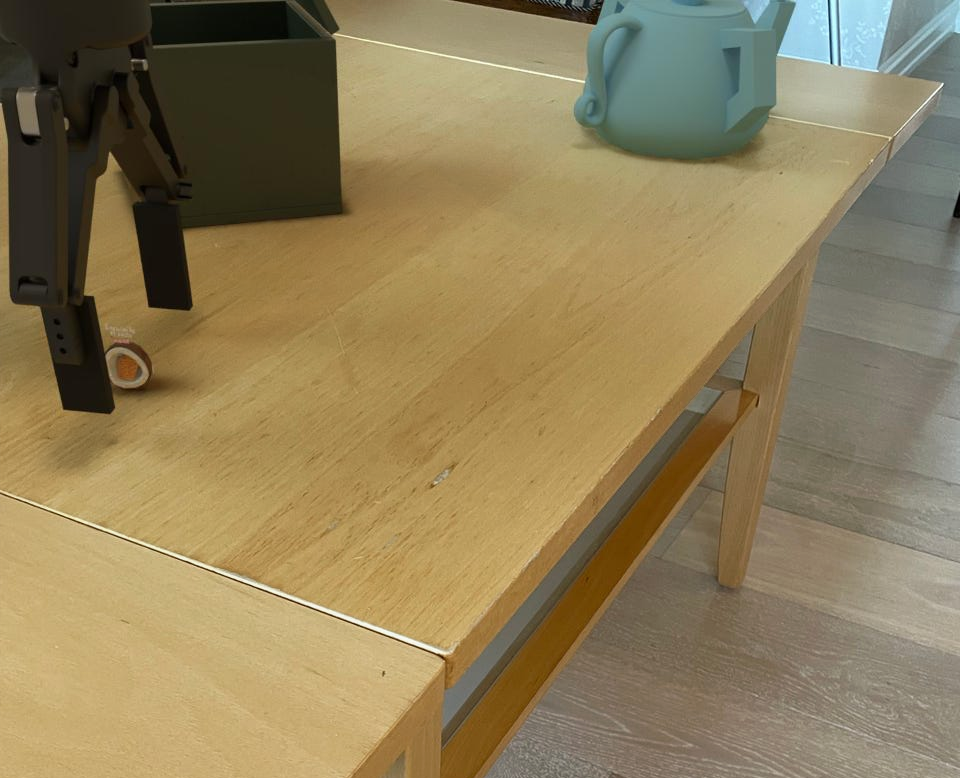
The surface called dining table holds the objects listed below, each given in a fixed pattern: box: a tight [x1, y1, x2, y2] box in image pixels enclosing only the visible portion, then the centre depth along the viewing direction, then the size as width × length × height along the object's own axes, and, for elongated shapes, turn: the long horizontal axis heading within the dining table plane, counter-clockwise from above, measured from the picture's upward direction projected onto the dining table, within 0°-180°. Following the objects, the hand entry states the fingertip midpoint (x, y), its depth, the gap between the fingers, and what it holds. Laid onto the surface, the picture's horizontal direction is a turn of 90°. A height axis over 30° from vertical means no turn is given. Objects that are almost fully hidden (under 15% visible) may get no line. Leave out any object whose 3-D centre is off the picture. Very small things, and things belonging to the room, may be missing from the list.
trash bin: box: [121, 0, 343, 229], centre depth 92 cm, size 16×14×13 cm
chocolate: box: [104, 322, 155, 390], centre depth 69 cm, size 3×2×4 cm
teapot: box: [573, 0, 797, 160], centre depth 108 cm, size 19×19×14 cm
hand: (133, 354), depth 69 cm, fingers open, 13 cm apart
